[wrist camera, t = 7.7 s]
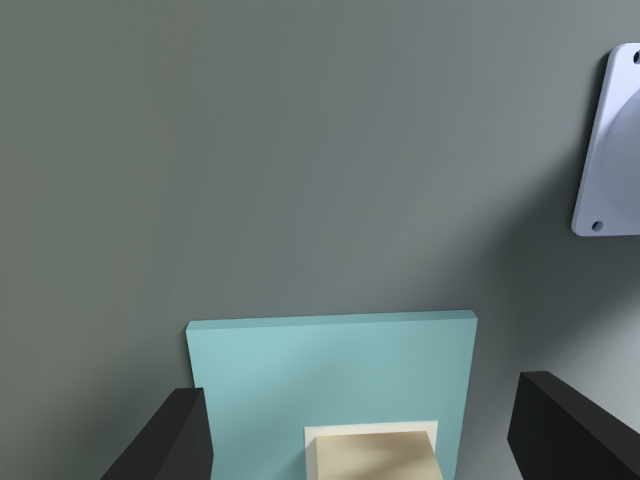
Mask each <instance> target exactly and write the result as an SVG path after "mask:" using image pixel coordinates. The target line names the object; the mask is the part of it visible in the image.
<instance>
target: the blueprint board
mask: <svg viewBox="0 0 640 480" xmlns="http://www.w3.org/2000/svg"><path fill="white" fill-rule="evenodd" d="M477 321H478V318H477V316H476V315H475V314H474V312H473V311H472V309H471V310H447V311H423V312H398V313H374V314H349V315H325V316H300V317H276V318H252V319H227V320H203V321H190V322H189V324H188V326H187V329H186V335H187V341H188V347H189V353H190V359H191V365H192V371H193V377H194V383H195V388H199V387H203V388H204V394H205V401H206V407H207V413H208V420H209V426H210V432H211V439H212V445H213V451H214V458H213V465H212V472H211V480H317V452H316V436H332V435H352V434H371V433H391V432H410V431H427V434H428V437H429V440H430V443H431V446H432V448H433V451H434V454H435V457H436V460H437V463H438V466H439V468H440V471H441V474H442V477H443V480H454V478H455V471H456V464H457V457H458V450H459V444H460V437H461V430H462V423H463V416H464V410H465V403H466V396H467V389H468V382H469V376H470V369H471V362H472V355H473V348H474V342H475V335H476V328H477Z"/></svg>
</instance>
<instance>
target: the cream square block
mask: <svg viewBox="0 0 640 480" xmlns="http://www.w3.org/2000/svg"><path fill="white" fill-rule="evenodd" d="M316 452H317V480H443V477H442V474H441V471H440V468H439V466H438V463H437V460H436V457H435V454H434V451H433V448H432V446H431V443H430V440H429V437H428V434H427V431H410V432H391V433H371V434H352V435H332V436H316Z"/></svg>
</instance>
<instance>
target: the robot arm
mask: <svg viewBox="0 0 640 480" xmlns="http://www.w3.org/2000/svg"><path fill="white" fill-rule="evenodd" d="M637 51H638V53H639V58H638V60H637V62H636V63H634V61H633V57H634V55H635V53H636V52H637ZM596 221H598V223H597V225H596V226H595V227H594V228H592V225H593V224H594V223H595V222H596ZM571 229H572V231H573V232H574V233H576V234H578V235H579V236H613V235H640V43H627V44H621V45H618V46H617V47H615V48H614V49H613V51H612V52H611V53H610V56H609V59H608V63H607V68H606V72H605V77H604V81H603V86H602V90H601V95H600V99H599V104H598V108H597V112H596V117H595V121H594V126H593V130H592V135H591V139H590V144H589V148H588V153H587V157H586V161H585V166H584V170H583V175H582V179H581V184H580V188H579V193H578V197H577V202H576V206H575V211H574V215H573V219H572V224H571ZM507 440H508V443H509V445H510V448H511V450H512V453H513V455H514V458H515V460H516V463H517V465H518V468H519V470H520V472H521V475H522V477H523V479H524V480H640V434H639V433H637V432H636V431H634V430H633V429H631V428H630V427H628V426H627V425H626V424H624V423H623V422H621V421H620V420H618V419H617V418H615V417H614V416H613V415H611V414H610V413H608V412H607V411H605V410H604V409H602V408H601V407H600V406H598V405H597V404H595V403H594V402H592V401H591V400H589V399H588V398H587V397H585V396H584V395H582V394H581V393H579V392H578V391H576V390H575V389H574V388H572V387H571V386H569V385H568V384H566V383H565V382H563V381H562V380H560V379H559V378H557V377H556V376H554V375H552V374H551V373H549V372H548V371H536V372H521V373H520V378H519V383H518V388H517V393H516V398H515V402H514V407H513V412H512V417H511V422H510V427H509V432H508V437H507ZM213 458H214V451H213V445H212V439H211V432H210V426H209V420H208V413H207V407H206V401H205V394H204V388H203V387H199V388H178V389H175V390H174V391H173V392H172V393H171V394H170V395H169V397H168V398H167V399H166V400H165V402H164V403H163V404H162V405H161V407H160V408H159V409H158V411H157V412H156V413H155V414H154V416H153V417H152V418H151V419H150V421H149V422H148V423H147V424H146V426H145V427H144V428H143V429H142V430H141V432H140V433H139V434H138V435H137V437H136V438H135V439H134V440H133V441H132V443H131V444H130V445H129V446H128V447H127V449H126V450H125V451H124V452H123V453H122V454H121V456H120V457H119V458H118V459H117V460H116V461H115V463H114V464H113V465H112V466H111V467H110V469H109V470H108V471H107V472H106V473H105V474H104V475H103V477H102V478H101V479H100V480H211V472H212V465H213Z"/></svg>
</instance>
